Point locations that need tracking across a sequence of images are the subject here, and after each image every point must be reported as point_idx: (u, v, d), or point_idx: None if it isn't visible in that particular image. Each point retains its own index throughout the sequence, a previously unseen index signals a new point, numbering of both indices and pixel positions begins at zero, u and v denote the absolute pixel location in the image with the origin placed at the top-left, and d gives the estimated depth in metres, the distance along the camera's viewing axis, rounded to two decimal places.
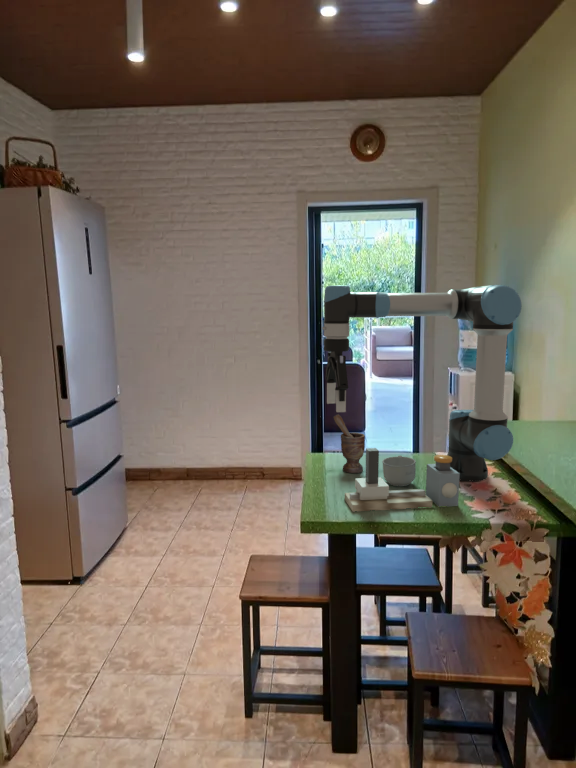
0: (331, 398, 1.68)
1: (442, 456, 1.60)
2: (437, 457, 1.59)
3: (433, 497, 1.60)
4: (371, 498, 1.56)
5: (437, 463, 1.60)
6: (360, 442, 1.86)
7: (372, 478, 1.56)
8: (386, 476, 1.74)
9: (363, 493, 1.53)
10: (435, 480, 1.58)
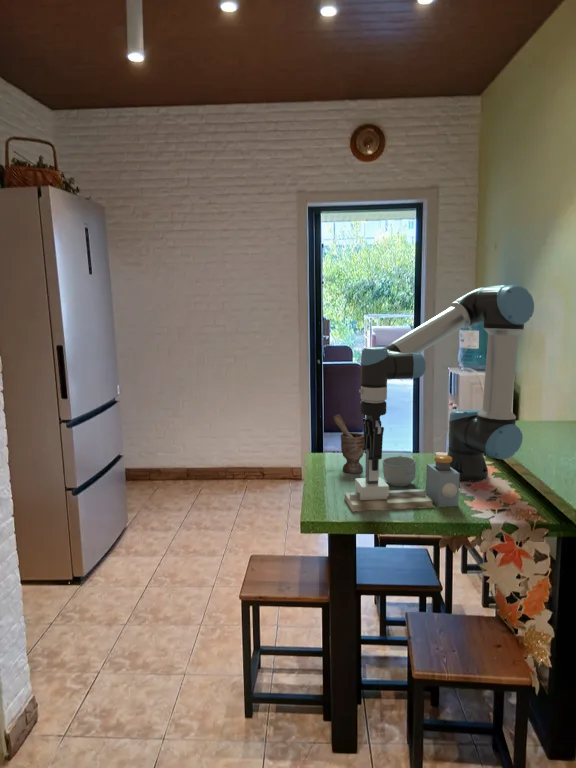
0: None
1: (442, 456, 1.60)
2: (437, 457, 1.59)
3: (433, 497, 1.60)
4: (371, 498, 1.56)
5: (437, 463, 1.60)
6: (360, 442, 1.86)
7: None
8: (386, 476, 1.74)
9: (363, 493, 1.53)
10: (435, 480, 1.58)
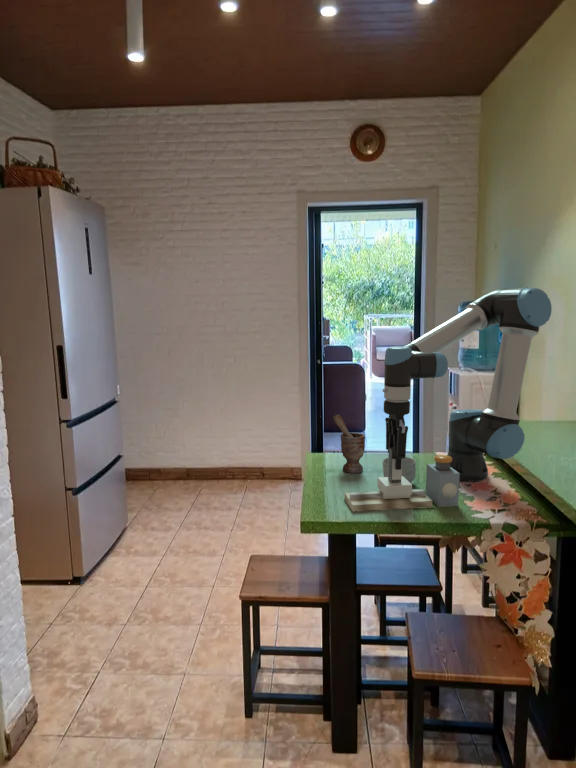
0: None
1: (442, 456, 1.60)
2: (437, 457, 1.59)
3: (433, 497, 1.60)
4: (394, 497, 1.56)
5: (437, 463, 1.60)
6: (360, 442, 1.86)
7: None
8: (386, 476, 1.74)
9: (386, 492, 1.54)
10: (435, 480, 1.58)
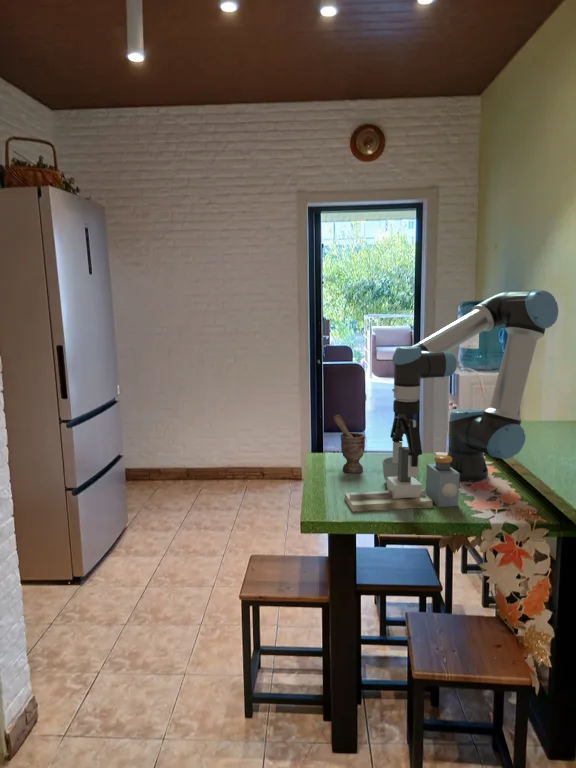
0: (397, 457, 1.64)
1: (442, 456, 1.60)
2: (437, 457, 1.59)
3: (433, 497, 1.60)
4: (404, 496, 1.57)
5: (437, 463, 1.60)
6: (360, 442, 1.86)
7: (405, 477, 1.57)
8: (386, 476, 1.74)
9: (396, 491, 1.55)
10: (435, 480, 1.58)
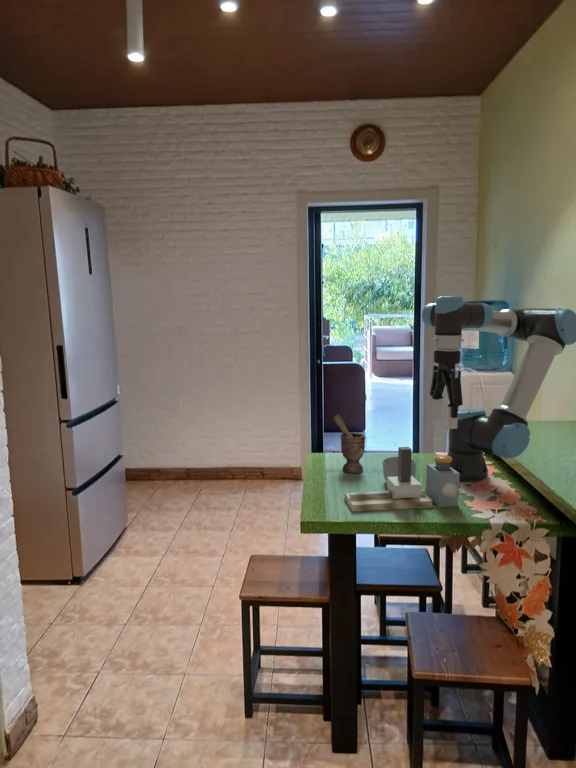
0: (437, 415, 1.63)
1: (442, 456, 1.60)
2: (437, 457, 1.59)
3: (433, 497, 1.60)
4: (404, 496, 1.57)
5: (437, 463, 1.60)
6: (360, 442, 1.86)
7: (405, 477, 1.57)
8: (386, 476, 1.74)
9: (396, 491, 1.55)
10: (435, 480, 1.58)
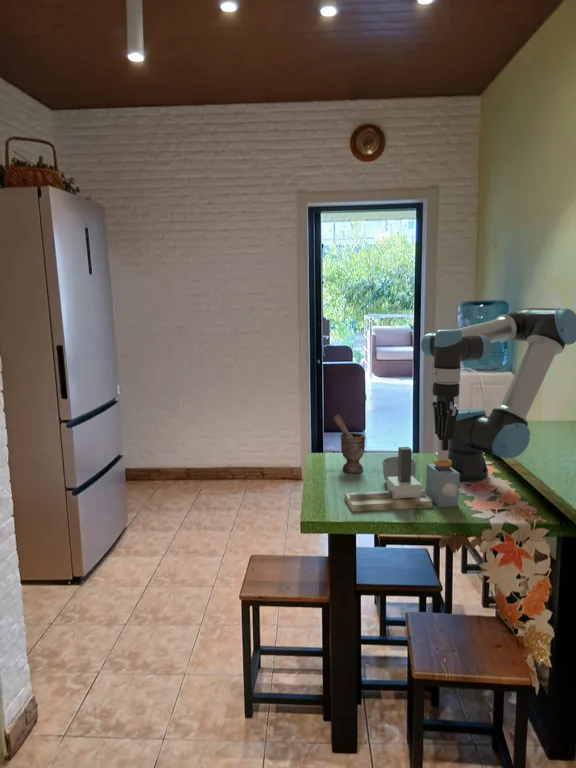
0: None
1: None
2: (437, 460, 1.59)
3: (433, 497, 1.60)
4: (404, 496, 1.57)
5: (437, 466, 1.60)
6: (360, 442, 1.86)
7: (405, 477, 1.57)
8: (386, 476, 1.74)
9: (396, 491, 1.55)
10: (435, 480, 1.58)
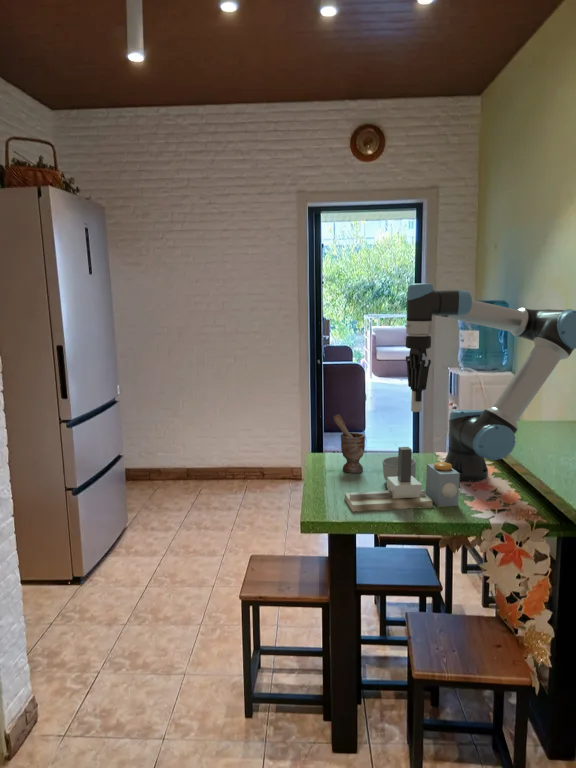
0: None
1: (442, 463, 1.61)
2: (437, 464, 1.60)
3: (433, 497, 1.60)
4: (404, 496, 1.57)
5: None
6: (360, 442, 1.86)
7: (405, 477, 1.57)
8: (386, 476, 1.74)
9: (396, 491, 1.55)
10: (435, 480, 1.58)
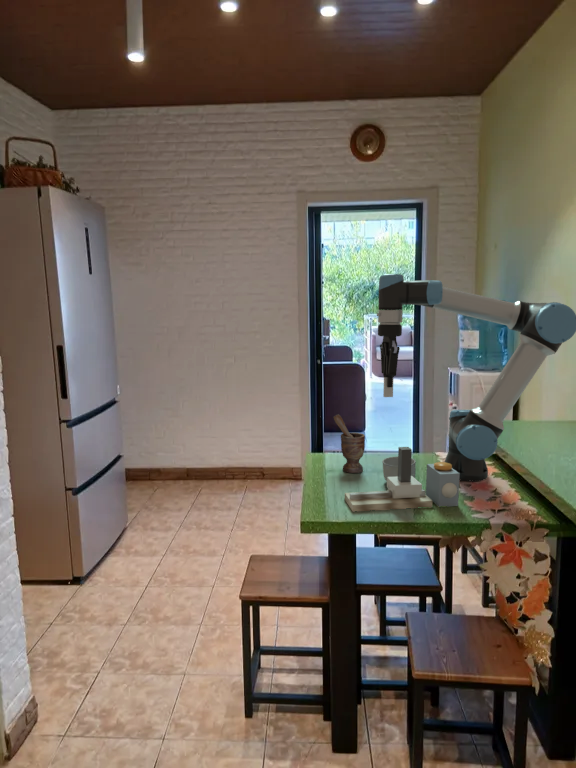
0: None
1: (442, 463, 1.61)
2: (437, 464, 1.60)
3: (433, 497, 1.60)
4: (404, 496, 1.57)
5: None
6: (360, 442, 1.86)
7: (405, 477, 1.57)
8: (386, 476, 1.74)
9: (396, 491, 1.55)
10: (435, 480, 1.58)
